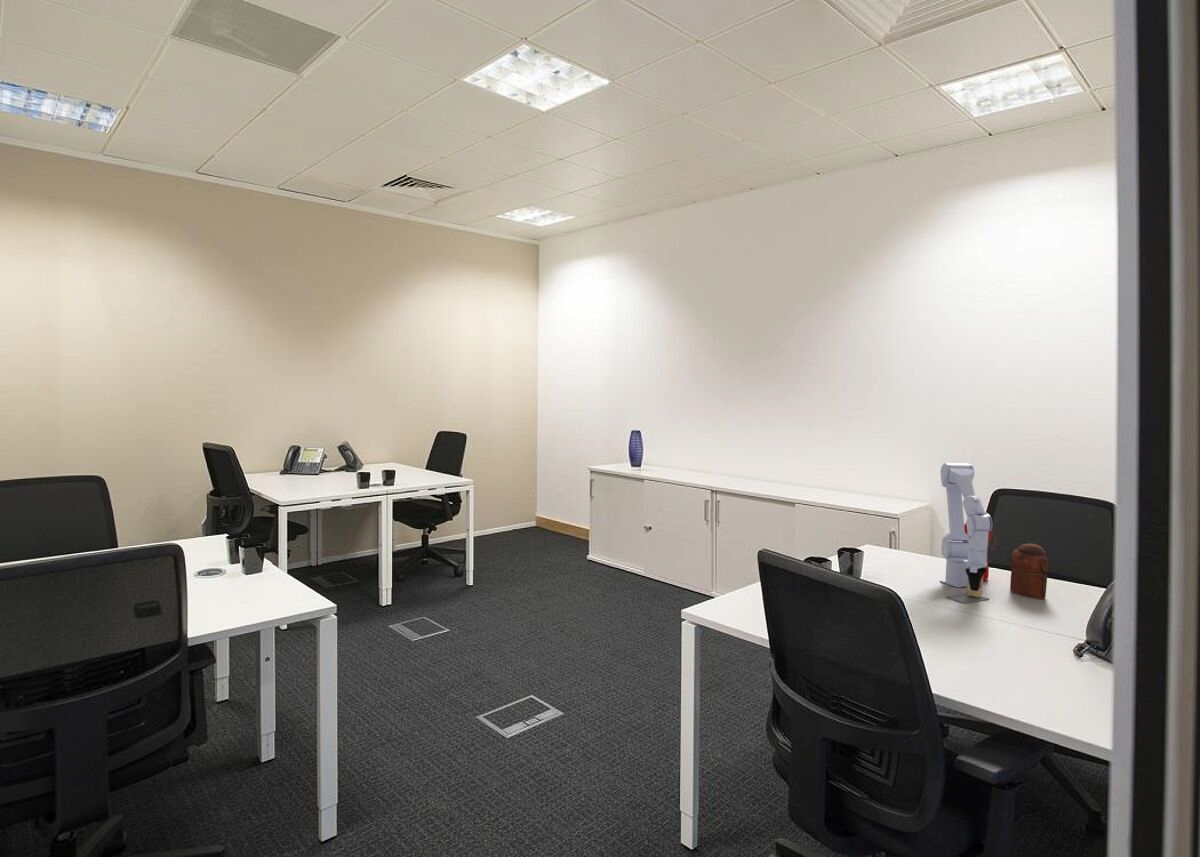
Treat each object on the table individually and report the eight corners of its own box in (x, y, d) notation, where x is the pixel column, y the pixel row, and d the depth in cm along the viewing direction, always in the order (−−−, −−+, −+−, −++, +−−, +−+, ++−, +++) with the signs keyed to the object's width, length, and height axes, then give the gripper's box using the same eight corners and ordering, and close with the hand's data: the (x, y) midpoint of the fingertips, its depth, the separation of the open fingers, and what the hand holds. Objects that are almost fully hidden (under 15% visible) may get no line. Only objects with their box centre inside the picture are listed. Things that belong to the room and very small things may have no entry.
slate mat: (970, 593, 236) (970, 592, 236) (989, 599, 229) (989, 598, 229) (945, 597, 231) (945, 596, 231) (963, 603, 225) (963, 602, 225)
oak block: (969, 592, 234) (970, 572, 233) (982, 594, 231) (983, 574, 231) (967, 595, 231) (968, 574, 230) (980, 597, 228) (981, 576, 228)
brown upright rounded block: (1050, 597, 233) (1054, 545, 231) (1044, 601, 229) (1047, 548, 227) (1013, 588, 242) (1016, 539, 241) (1005, 592, 238) (1008, 541, 237)
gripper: (968, 543, 238) (966, 581, 239) (960, 551, 226) (958, 591, 227) (991, 546, 234) (988, 585, 235) (984, 555, 222) (982, 595, 223)
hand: (975, 588), depth 231 cm, fingers closed on oak block, 4 cm apart
